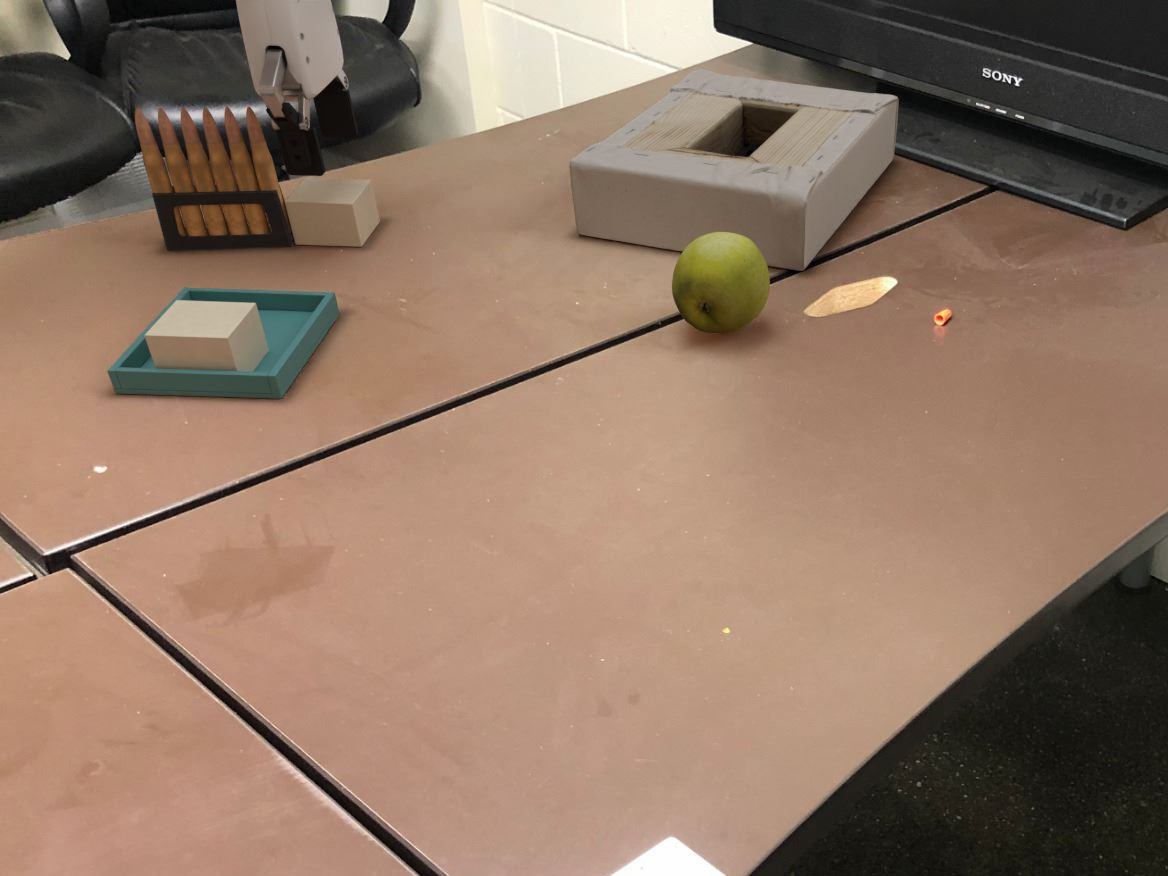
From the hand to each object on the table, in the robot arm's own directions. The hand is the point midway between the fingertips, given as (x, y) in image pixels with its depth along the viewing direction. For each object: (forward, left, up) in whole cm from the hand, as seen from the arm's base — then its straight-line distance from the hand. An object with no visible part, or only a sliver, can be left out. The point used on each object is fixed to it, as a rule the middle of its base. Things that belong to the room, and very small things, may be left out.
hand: (324, 154), depth 119 cm
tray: (-1, -24, -7) cm, 25 cm away
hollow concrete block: (+37, +13, -7) cm, 40 cm away
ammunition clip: (-9, -4, -7) cm, 12 cm away
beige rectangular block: (0, 0, -7) cm, 7 cm away
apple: (+37, -17, -7) cm, 41 cm away
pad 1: (-1, -28, -7) cm, 28 cm away
